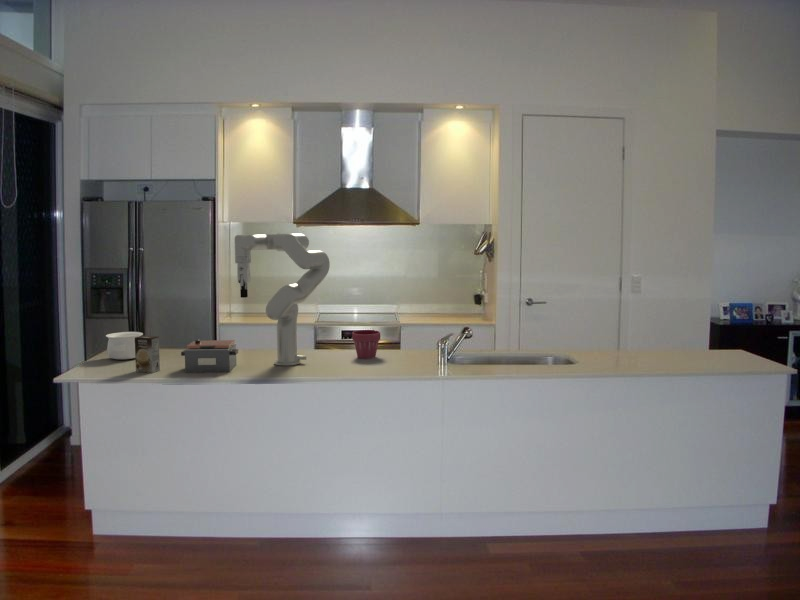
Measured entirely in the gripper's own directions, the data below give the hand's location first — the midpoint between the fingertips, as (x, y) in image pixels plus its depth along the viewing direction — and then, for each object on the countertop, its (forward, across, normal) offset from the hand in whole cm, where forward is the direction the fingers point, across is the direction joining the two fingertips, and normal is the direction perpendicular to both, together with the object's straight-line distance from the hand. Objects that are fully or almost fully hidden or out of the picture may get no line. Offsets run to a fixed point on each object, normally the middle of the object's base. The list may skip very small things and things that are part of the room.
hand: (244, 297), depth 345 cm
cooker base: (+31, -22, +12) cm, 40 cm away
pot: (+31, +7, +61) cm, 69 cm away
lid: (+21, -22, +12) cm, 32 cm away
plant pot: (+31, +2, -60) cm, 68 cm away
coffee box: (+31, -26, +40) cm, 57 cm away
